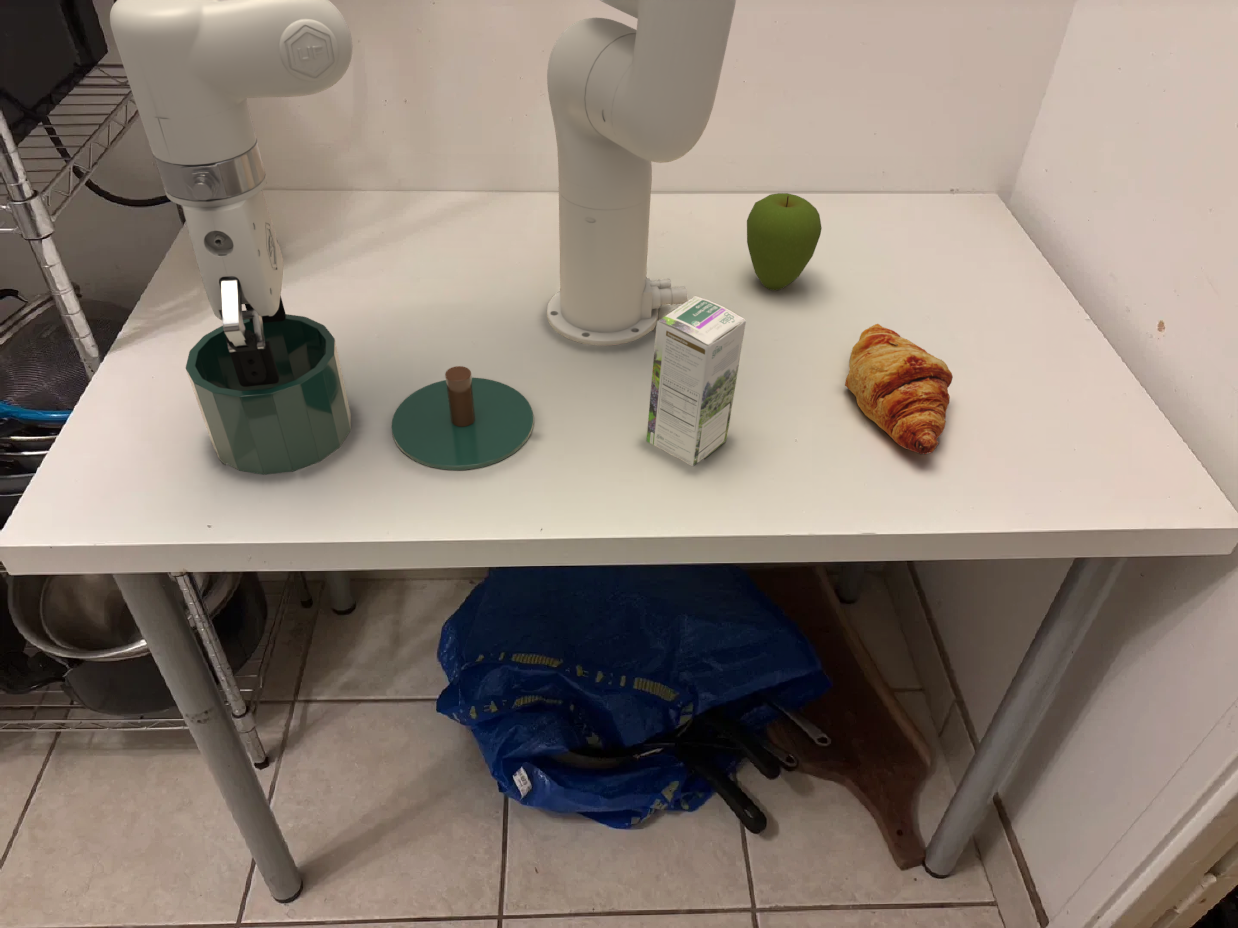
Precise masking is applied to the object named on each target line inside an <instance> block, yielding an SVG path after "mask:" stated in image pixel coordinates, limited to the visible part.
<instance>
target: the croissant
mask: <svg viewBox="0 0 1238 928" xmlns="http://www.w3.org/2000/svg"><path fill="white" fill-rule="evenodd" d="M858 339H859V340H858V341H857V342H856V343H855V344H854V345H853V346H852V350H851V352H850V356H849V361H848V367H849V370H848V374H847V376H846V377H845V378H846V379H845V382H844V386H845V387H846V388H847V389H848V390H849V391H850V392H851V394H853V396H854V397H856V403H857V406H858V408H859V409H860V411H862V413H863V415H864V416H866V417H867V418H868V419H869V420H871V421H872V422H873V423H875V424H876V425H877V426H878V427H879V428H880V429H881V430H883V431H884V432H885V433H886V434H887V435H888V436H889V437H890V438H891V439H892V440H893V441H894V442H895V443H896V444H897V445H898V446H900V447H902V448H904V449H906V450H909V451H912V452H914V453H918V454H919V455H927V454H931V453H933V452H934V451H935V450H936V448H937V446H938V445H939V441H938V438H939V437H940V436H941V435H942V434H943V433H944V430H945V427H946V423H947V421H946V417H947V415H946V413H947V411H948V408H949V404H950V398H951V396H950V394H949V388H950V386H951V384H952V383H953V372H952V371H951V370H950V369H949V367H948V364H947V363H946V362H945V361H944V360H942V359H941V358H939V357H937V356H935V355H933V354H931V353H929V352H928V351H927V350H926V349H924V348H922V347H921V346H919V345H917V344H915V343H914V342H912V341H910V340H908V339H906V338H905V337H902V336H901V334H899V333H897V332H896V331H895V330H893V329H890V328H887V327H883V326H882V325H880V324H879V323H875V324H873V325H871V326H869V327H868V328H866V329H864V330H863V331H862V332H861V333H860V335H859V338H858Z"/></svg>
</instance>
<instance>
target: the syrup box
mask: <svg viewBox="0 0 1238 928" xmlns="http://www.w3.org/2000/svg"><path fill="white" fill-rule="evenodd" d="M746 323H747V320H746V319H745V318H743V316H740V315H739V314H737V313H735V312H733V311H732V310H730V309H728V308H726V307H724V306H722V305H720V304H718V303H716V302H714V301H711V300H709V299H706V298H703V297H700V296H696V295H694V296H693V297H691V298H690V299H689V300H688V299H687V302H685V303H684V304H680V305H679V306H678V307H676V308H675V309H673V310H672V311H670V312H669V313H667V314H666V315H665V316H663V317H661V318H660V319H657V324H656V326H655V335H654V336H655V337H654V338H655V339H654V349H653V361H652V372H651V383H650V395H649V407H648V408H649V409H648V419H647V430H646V431H647V432H646V440H645V441H646V442H647V443H649V444H651V445H652V446H654V447H656V448H658V449H660V450H662V451H663V452H665V453H667V454H669V455H671V456H672V457H674V458H677V459H678V460H680V461H682V462H684V463H686V464H687V465H690V466H691V467H694V466H696V465H697V464H698V463H700V462H701V461H702V460H706V458H708V457H709V456H710V455H711V454H712V453H714V452H715V451H716V450H718V448H719V447H721V446H722V445H723V444H724V443H725V442H726V441H727V439H728V434H729V428H730V421H731V416H732V408H733V402H734V397H735V390H736V384H737V378H738V371H739V366H740V361H741V360H740V359H741V353H742V347H743V340H744V334H745V329H746Z"/></svg>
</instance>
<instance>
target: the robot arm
mask: <svg viewBox="0 0 1238 928" xmlns="http://www.w3.org/2000/svg"><path fill="white" fill-rule="evenodd" d="M599 1H600V2H602V3H604V4H605V5H608V6H610V7H612V8H614V9H616V10H618V11H620V12H622V13H624V14H627V15H629V16H630V17H633V18H635V19H637V21H636V22H637V23H636V29H635V28H634V27H631V26H629V25H627V24H625V23H622V22H619V21H617V20H614V19H611V18H603V17H589V18H584V19H580V20H578V21H576V22H574V23H572V24H571V25H569V26H568V27H567V28H566V29H565V30H564V31H562V33H561V34H559V36H558V38H557V39H556V40H555V43H554V45H553V47H552V48H551V51H550V55H549V59H548V64H547V73H546V79H547V80H546V81H547V83H546V84H547V92H548V100H549V106H550V110H551V117H552V122H553V126H554V133H555V139H556V151H557V172H558V239H559V244H558V245H559V290H558V291H557V292H556V293H555V294H554V295H553V296H551V298H550V300H549V301H548V302H547V306H546V319H547V321H548V323H549V325H550V327H551V328H552V329H553V330H554V331H555V332H556V333H557V334H559V335H560V336H562V337H564V338H566V339H568V340H570V341H573V342H576V343H579V344H583V345H589V346H597V347H598V346H599V347H605V346H619V345H625V344H628V343H632V342H634V341H637V340H639V339H641V338H643V337H645V336H647V335H648V334H649V333H650V332H653V331H654V329H656V325H657V321H658V320H659V319H658V318H659V317H658V316H659V315H658V314H659V313H658V311H659V309H660V307H661V306H666V305H671V306H673V305H674V306H675V305H682V304H684V303H685V302H687V301H688V290H687V287H686V286H685V285H684V286H675V287H672V281H671V279H670V277H669V278H659V279H652V280H651V279H650V277H647V270H648V254H649V253H648V252H649V235H650V233H649V232H650V213H651V199H652V198H651V195H652V183H653V182H652V181H653V175H652V174H653V167H652V166H653V165H652V163H659V164H664V163H671V162H674V161H677V160H679V159H680V158H683V157H684V156H686V155H687V154H688V153H689V152H690V151H691V150H692V149H693V148H694V147H695V146H696V144H697V143H698V142H699V140H700V139H701V138H702V136H703V134H704V132H705V130H706V128H707V125H708V124H709V120H710V117H711V115H712V111H713V108H714V104H715V101H716V96H717V92H718V87H719V83H720V79H721V74H722V68H723V64H724V61H725V56H726V52H727V51H726V50H727V46H728V41H729V36H730V31H731V27H732V23H733V17H734V13H735V9H736V3H737V0H599ZM109 25H110V28H111V32H112V36H113V39H114V41H115V45H116V49H117V51H118V54H119V57H120V59H121V63H122V66H123V69H124V73H125V75H126V78H127V81H128V85H129V88H130V90H131V93H132V97H133V100H134V103H135V106H136V108H137V112H138V115H139V118H140V121H141V123H142V126H143V130H144V133H145V135H146V139H147V141H148V145H149V149H150V151H151V154H152V156H153V160H154V163H155V165H156V169H157V172H158V175H159V178H160V181H161V184H162V188H163V191H164V194H165V196H166V197H167V199H168V200H170V201H171V202H172V203H175V204H176V205H179V206H181V207H182V211H183V214H184V218H185V222H186V226H187V232H188V234H189V238H190V242H191V246H192V249H193V253H194V257H195V260H196V264H197V267H198V271H199V274H200V277H201V281H202V284H203V287H204V290H205V294H206V297H207V299H208V302H209V305H210V307H211V309H212V312H213V315H214V316H215V317H216V318H217V319H219V320H221V321H222V326H223V330H224V332H225V334H226V342H227V345H228V349H229V352H230V355H231V358H232V361H233V364H234V368H235V371H236V374H237V377H238V380H239V383H240V385H241V386H243V387H249V386H258V385H268V384H276V383H278V382H279V374H278V370H277V367H276V363H275V360H274V356H273V352H272V349H271V345H270V342H269V341H267V342H265V337H264V330H263V323H268V322H279V321H284V320H285V318H286V314H287V313H286V311H285V306H284V303H283V298H282V296H281V295H282V286H283V279H284V278H283V277H284V258H283V254H282V250H281V247H280V244H279V240H278V237H277V234H276V231H275V227H274V224H273V221H272V217H271V213H270V210H269V208H268V207H269V206H268V204H267V201H266V198H265V195H264V191H263V190H264V188H265V187H266V185H267V181H268V179H267V173H266V170H265V166H264V163H263V158H262V154H261V150H260V146H259V142H258V138H257V134H256V129H255V126H254V121H253V118H252V114H251V110H250V105H249V101H248V99H257V98H258V99H260V98H296V97H297V98H298V97H305V96H311V95H316V94H319V93H322V92H324V91H326V90H328V89H330V88H332V87H333V86H335V85H336V84H338V82H339V81H340V80H341V79H342V78H343V77H344V75H345V74H346V72H347V71H348V69H349V67H350V64H351V61H352V57H353V46H354V45H353V37H352V34H351V30H350V28H349V25H348V23H347V21H346V19H345V17H344V15H343V13H342V12H341V11H340V10H339V9H338V7H337V6H336V5H335V4H334V3H332V2H331V1H330V0H116V1H115V2H114V3H113V5H112V6H111V9H110V12H109ZM243 305H244V306H245V307H244V308H245V310H244V309H243ZM246 319H249V321H250V322H251V323H253V325H254V333H255V334H254V333H253V332H251V331H250V330H245V326H244V323H243V320H246Z"/></svg>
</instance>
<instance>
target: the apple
mask: <svg viewBox="0 0 1238 928" xmlns="http://www.w3.org/2000/svg"><path fill="white" fill-rule="evenodd" d="M822 228H823V227H822V222H821V216H820V213H819V211H818V209H817V208H816V207H815V205H813V204H812V203H811V202H810V201H808V200H807V199H805V198H804V197H801V196H799V195H796V194H792V193H788V192H787V193H786V192H784V193H783V192H781V193H780V192H778V193H771V194H769V195H767V196H765V197H764V198H761V199H759V200H757V201H756V202H754V205H753V206H752V208H751V210H750V212H749V214H748V216H747V219H746V244H747V249H748V253H749V256H750V260H751V264H752V268H753V271H754V273H755V275H756V277H757V278H758V279H759V281H760V283H761V284H762V285H763V286H764V288H766V289H768V290H769V291H780V290H783V289H784V288H786V287H787V286H788V285H790V284H792V283H793V282H795V280H797V279H798V278H799V277H800V276H801V274H802V273H803V271H804V269H805V268H806V267H807V265H808V264H809V262H810V261H811V260H812V258H813V256H814V254H815V251H816V248H817V246H818V243H819V239H820V237H821V233H822V230H823V229H822Z"/></svg>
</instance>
